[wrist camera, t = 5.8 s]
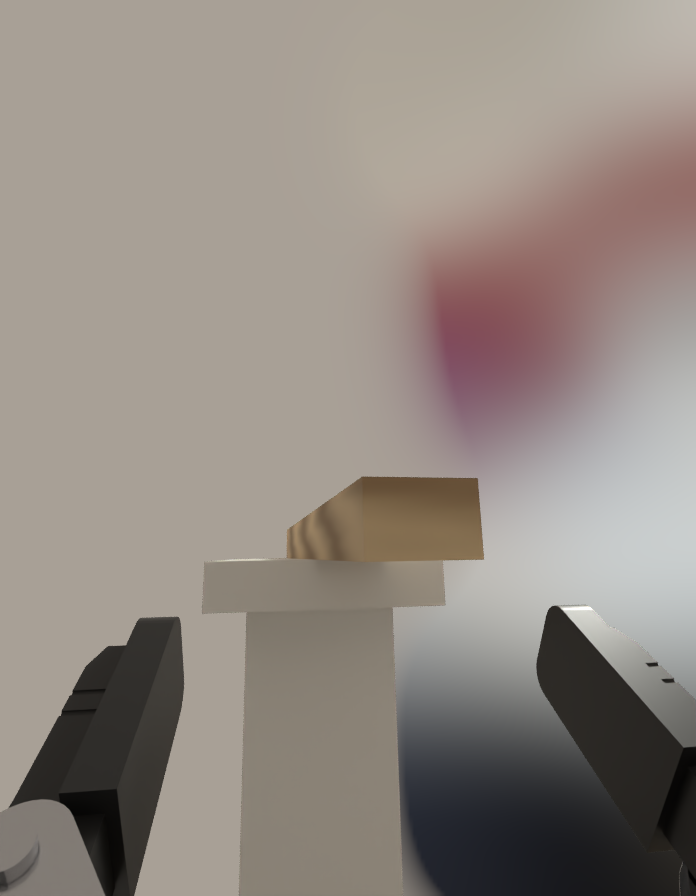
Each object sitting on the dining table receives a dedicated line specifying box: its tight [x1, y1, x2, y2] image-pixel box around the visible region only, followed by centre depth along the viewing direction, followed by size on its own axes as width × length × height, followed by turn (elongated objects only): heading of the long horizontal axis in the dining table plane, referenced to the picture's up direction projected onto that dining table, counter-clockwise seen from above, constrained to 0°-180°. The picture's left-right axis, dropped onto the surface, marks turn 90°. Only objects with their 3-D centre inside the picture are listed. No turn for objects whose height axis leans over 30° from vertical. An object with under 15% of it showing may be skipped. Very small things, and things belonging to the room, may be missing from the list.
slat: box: [287, 477, 484, 562], centre depth 23 cm, size 24×3×2 cm, turn 11°
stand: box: [202, 558, 445, 896], centre depth 23 cm, size 14×10×32 cm
